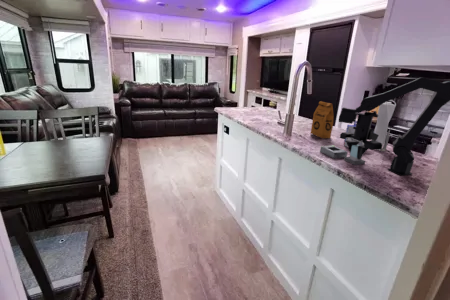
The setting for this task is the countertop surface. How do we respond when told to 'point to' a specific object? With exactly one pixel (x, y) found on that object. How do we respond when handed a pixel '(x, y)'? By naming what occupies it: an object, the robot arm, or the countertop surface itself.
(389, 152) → the countertop surface
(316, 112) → the coffee package
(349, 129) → the ink cartridge box
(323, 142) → the countertop surface
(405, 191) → the countertop surface
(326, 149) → the socket
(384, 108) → the skyscraper
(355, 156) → the plug
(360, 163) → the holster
